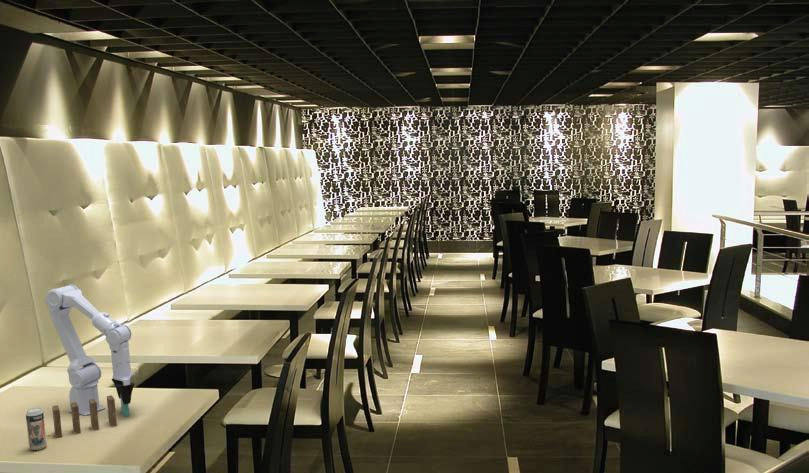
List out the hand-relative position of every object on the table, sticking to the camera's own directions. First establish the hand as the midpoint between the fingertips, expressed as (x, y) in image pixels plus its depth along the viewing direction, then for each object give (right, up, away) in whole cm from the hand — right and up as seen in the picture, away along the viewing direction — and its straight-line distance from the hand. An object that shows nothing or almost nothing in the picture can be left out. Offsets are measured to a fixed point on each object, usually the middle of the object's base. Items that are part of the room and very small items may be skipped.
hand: (124, 400), depth 266 cm
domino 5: (0, -5, +1) cm, 5 cm away
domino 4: (-1, -6, -9) cm, 11 cm away
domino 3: (-5, -6, -12) cm, 14 cm away
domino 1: (-15, -7, -17) cm, 24 cm away
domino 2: (-10, -7, -14) cm, 19 cm away
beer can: (-16, -9, -28) cm, 33 cm away
